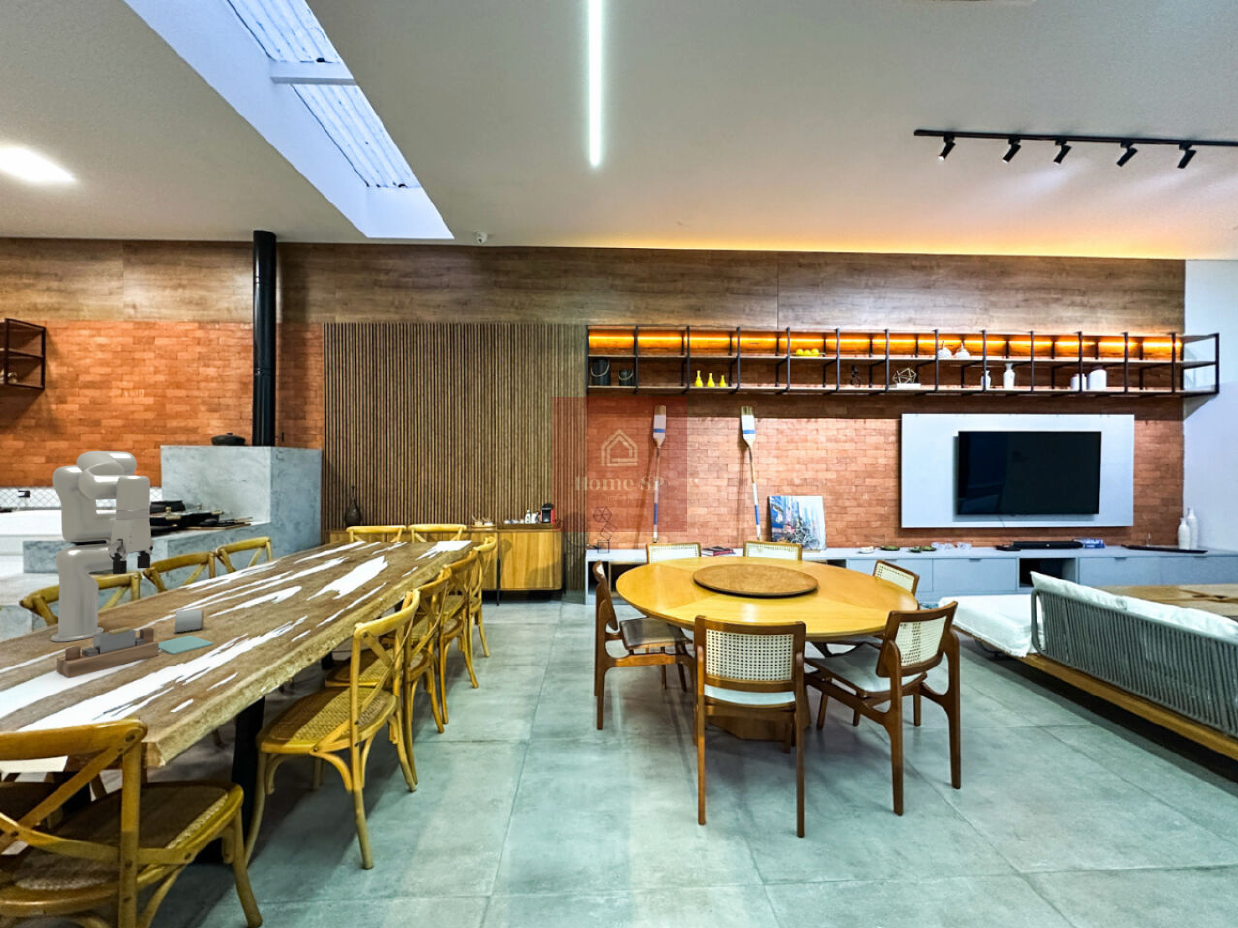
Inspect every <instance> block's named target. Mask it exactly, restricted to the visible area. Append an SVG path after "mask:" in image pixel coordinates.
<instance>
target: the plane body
mask: <svg viewBox="0 0 1238 928" xmlns="http://www.w3.org/2000/svg"><path fill="white" fill-rule="evenodd" d="M154 630H155V629H154V628H152V627H146V628H145V627H144V628H141V629H139V636H135V647H131V648H127V649H123V650H118V651H114V652H110V653H105V654H101V655H99V654H98V650H97V649H94V648H93V646H91V647H90V646H89V647H86V648H81V647H82V646H72V647H68V648H65V652H64V653H65V654H64V656H60V657H56V673H58V674H60V675H62V676H64V677H66V678H68V679H71V678H75V677H78V676H83V675H86V674H90V673H94V672H99V671H102V670H105V669H110V668H114V667H117V666H121V665H126V664H130V663H133V662H138V661H141V660H146V659H149V658H148V657H150V658H154V657H157V656H156V655H158V656H159V649H158V646H159V642H157V641H154V634H155V633H154V632H155V631H154ZM153 656H154V657H153Z"/></svg>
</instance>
